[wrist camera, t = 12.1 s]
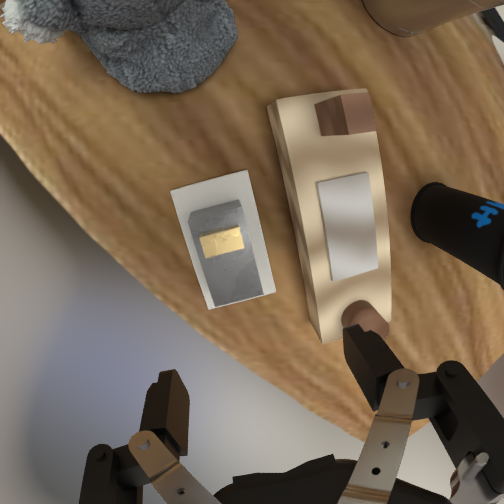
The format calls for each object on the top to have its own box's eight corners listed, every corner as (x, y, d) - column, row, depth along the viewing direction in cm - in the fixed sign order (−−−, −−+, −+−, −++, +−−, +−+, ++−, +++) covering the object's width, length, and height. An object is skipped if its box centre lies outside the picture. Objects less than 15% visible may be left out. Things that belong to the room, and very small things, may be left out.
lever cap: (191, 212, 30) (186, 223, 26) (238, 199, 30) (242, 208, 26) (214, 289, 33) (215, 311, 29) (258, 277, 34) (265, 298, 29)
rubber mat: (171, 190, 30) (170, 191, 29) (246, 169, 30) (247, 170, 29) (208, 306, 35) (208, 309, 34) (274, 288, 35) (276, 292, 34)
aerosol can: (449, 241, 36) (554, 303, 17) (406, 243, 35) (520, 320, 17) (456, 184, 33) (574, 224, 15) (413, 180, 33) (546, 224, 14)
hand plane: (266, 106, 28) (292, 86, 18) (345, 94, 28) (400, 78, 18) (310, 321, 37) (339, 379, 27) (373, 301, 38) (416, 348, 27)
